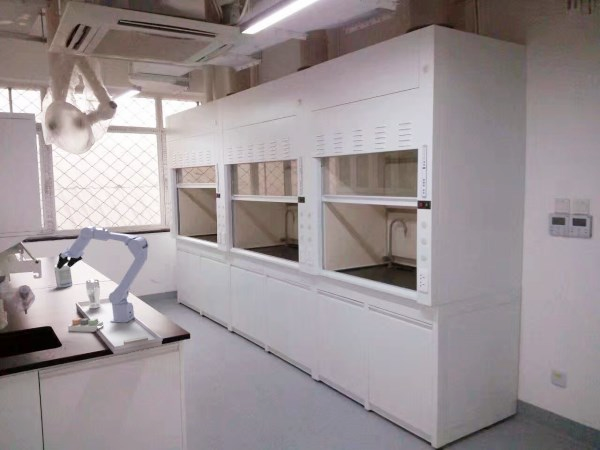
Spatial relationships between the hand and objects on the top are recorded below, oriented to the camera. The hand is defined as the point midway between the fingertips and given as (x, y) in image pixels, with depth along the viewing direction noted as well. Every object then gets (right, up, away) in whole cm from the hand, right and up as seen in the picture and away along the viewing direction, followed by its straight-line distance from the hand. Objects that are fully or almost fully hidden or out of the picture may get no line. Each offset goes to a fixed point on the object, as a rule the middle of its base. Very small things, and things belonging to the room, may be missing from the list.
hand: (63, 266), depth 239 cm
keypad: (+16, -29, -10) cm, 34 cm away
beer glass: (+4, -25, +28) cm, 38 cm away
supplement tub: (-41, -21, +84) cm, 96 cm away
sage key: (+20, -27, -11) cm, 35 cm away
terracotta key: (+11, -27, -9) cm, 31 cm away
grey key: (+16, -27, -10) cm, 33 cm away
